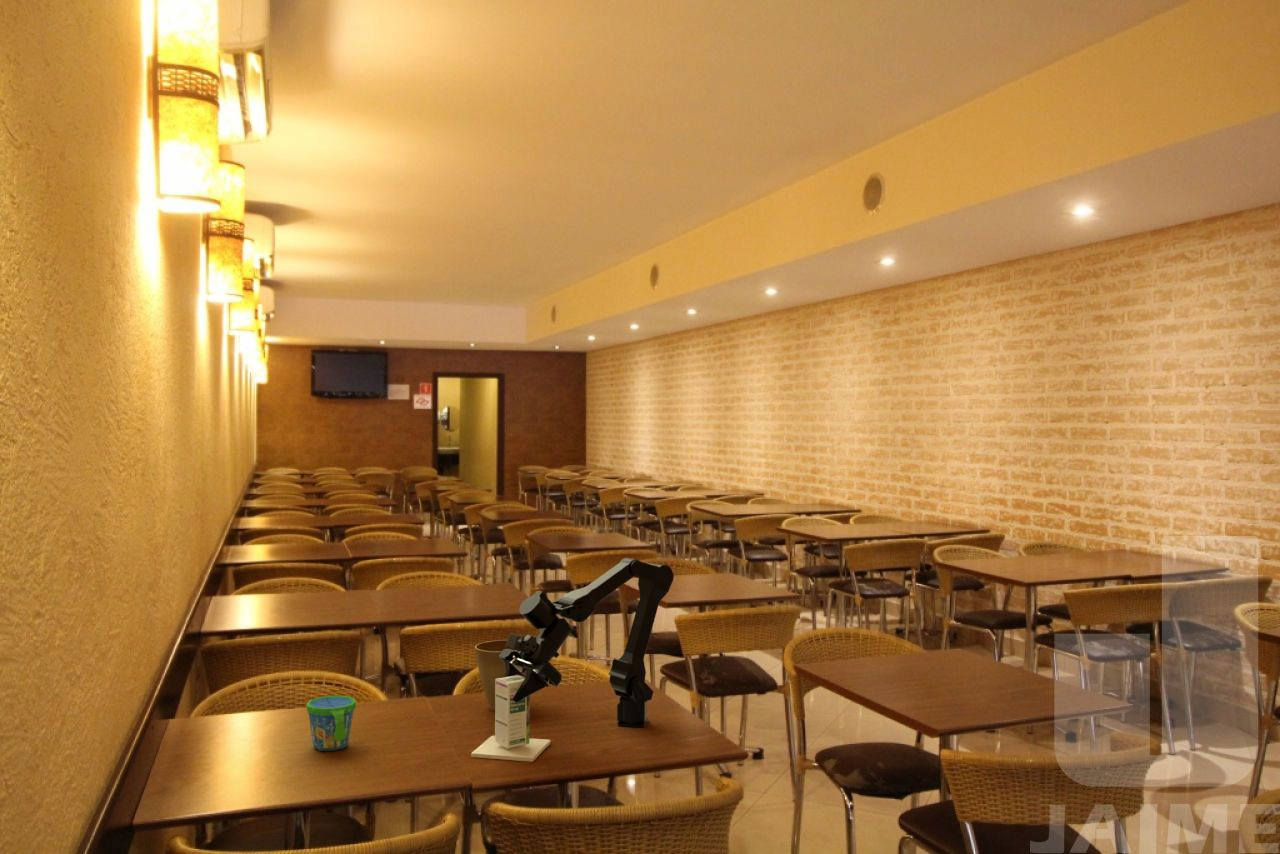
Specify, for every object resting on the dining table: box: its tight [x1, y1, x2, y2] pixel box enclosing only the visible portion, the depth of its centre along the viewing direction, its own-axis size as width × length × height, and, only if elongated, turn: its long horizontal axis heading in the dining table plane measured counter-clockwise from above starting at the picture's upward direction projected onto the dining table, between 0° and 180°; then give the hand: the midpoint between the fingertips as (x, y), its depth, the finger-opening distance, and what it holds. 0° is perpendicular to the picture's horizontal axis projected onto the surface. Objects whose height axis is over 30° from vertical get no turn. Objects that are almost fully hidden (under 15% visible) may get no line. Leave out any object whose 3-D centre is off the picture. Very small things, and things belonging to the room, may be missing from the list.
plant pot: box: [474, 639, 526, 711], centre depth 263 cm, size 15×15×16 cm
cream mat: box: [470, 735, 551, 763], centre depth 229 cm, size 14×13×1 cm
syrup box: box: [494, 675, 531, 749], centre depth 229 cm, size 6×6×14 cm
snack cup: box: [305, 695, 357, 752], centre depth 231 cm, size 16×10×10 cm
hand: (507, 698), depth 228 cm, fingers closed on syrup box, 6 cm apart
